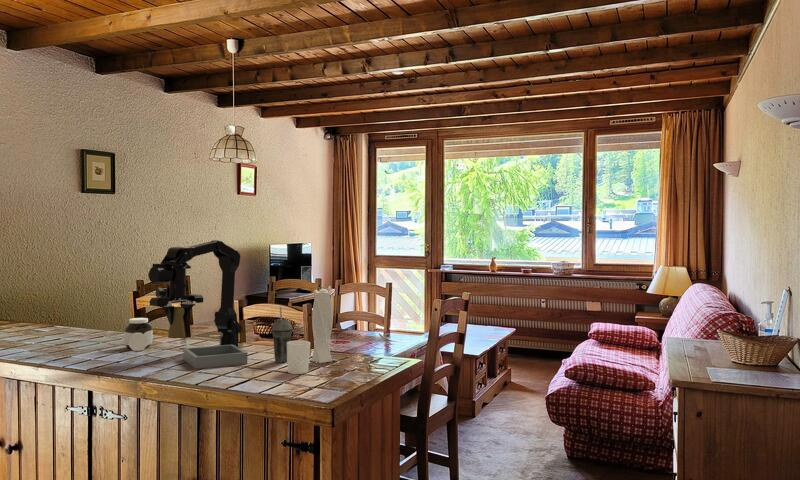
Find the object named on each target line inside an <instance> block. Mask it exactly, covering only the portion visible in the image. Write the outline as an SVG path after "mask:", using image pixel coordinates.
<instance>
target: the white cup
mask: <svg viewBox="0 0 800 480" xmlns="http://www.w3.org/2000/svg"><path fill="white" fill-rule="evenodd" d="M310 354H311V341H309V340H300V339H298V340H290V341H289V342H287V362H286V363H287V372H288V374H290V375H291V374H292V375H303V374H308V372H309V364H310V361H309V360H310Z"/></svg>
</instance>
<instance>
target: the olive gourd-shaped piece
mask: <svg viewBox="0 0 800 480" xmlns="http://www.w3.org/2000/svg"><path fill="white" fill-rule="evenodd" d="M184 313H185V310H184V308H183V307H181V306H174V316H173V323H172V325H170V324H169V327H168V328H169V329H168V336H167V338H169V339H181V338H182V339H183V338H186V330H185V322H184V321H183V315H184Z"/></svg>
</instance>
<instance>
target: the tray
mask: <svg viewBox="0 0 800 480" xmlns="http://www.w3.org/2000/svg"><path fill="white" fill-rule="evenodd" d="M183 361H185V362H186V363H187V364H188V365H189V366H190V367H192V368H193V369H194V370H200V369H212V368H219V367H229V366H240V365H248V351H245V350H243V349H242V348H238V347H237V346H235V345H221V346H219V345H211V346H210V345H208V346H196V347H188V348H187V347H185V348H183Z"/></svg>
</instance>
